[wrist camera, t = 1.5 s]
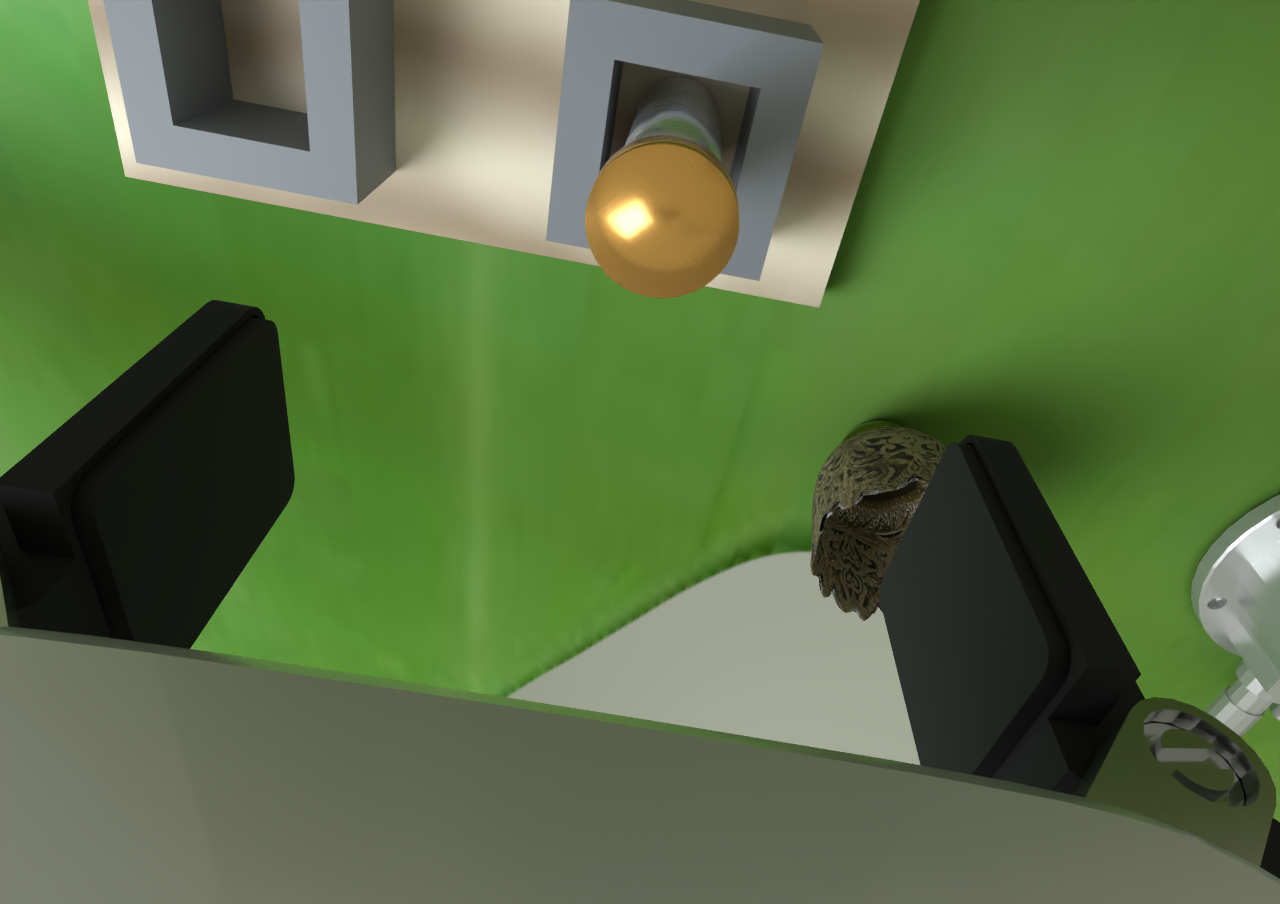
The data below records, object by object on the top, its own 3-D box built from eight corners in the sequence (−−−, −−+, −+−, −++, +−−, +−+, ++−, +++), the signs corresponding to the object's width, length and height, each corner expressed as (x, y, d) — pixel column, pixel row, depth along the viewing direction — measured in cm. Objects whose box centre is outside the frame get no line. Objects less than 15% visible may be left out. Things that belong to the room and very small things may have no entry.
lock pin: (718, 183, 30) (720, 309, 21) (618, 163, 29) (576, 282, 20) (742, 73, 27) (756, 162, 18) (634, 52, 27) (595, 131, 18)
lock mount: (754, 239, 31) (759, 281, 27) (563, 203, 30) (545, 240, 27) (810, 25, 26) (824, 44, 23) (588, -20, 26) (570, -8, 23)
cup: (885, 528, 40) (918, 650, 34) (765, 466, 39) (775, 582, 32) (991, 425, 36) (1051, 541, 30) (862, 350, 35) (895, 456, 28)
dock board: (815, 292, 33) (819, 307, 32) (147, 165, 32) (125, 176, 31) (920, -38, 26) (931, -34, 25) (73, -211, 25) (41, -216, 24)
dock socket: (396, 171, 30) (357, 204, 27) (199, 133, 30) (135, 162, 27) (392, -60, 26) (346, -52, 23) (162, -106, 26) (81, -106, 22)
